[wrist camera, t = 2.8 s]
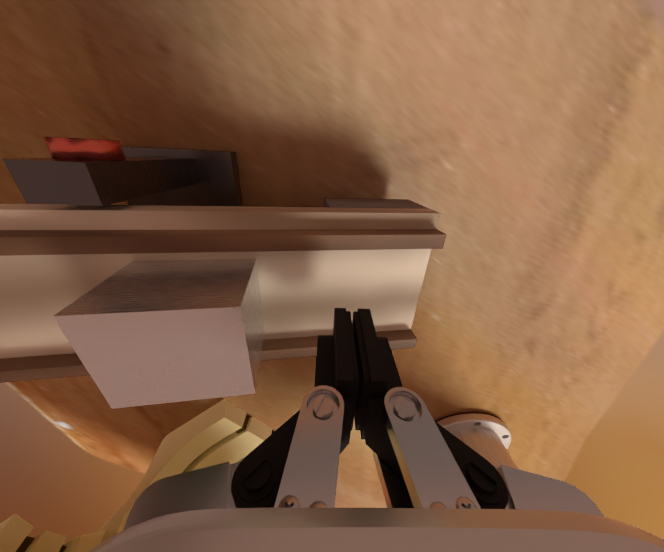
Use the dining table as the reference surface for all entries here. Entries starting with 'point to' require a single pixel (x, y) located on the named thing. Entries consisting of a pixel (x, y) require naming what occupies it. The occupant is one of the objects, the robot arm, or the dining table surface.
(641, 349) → the dining table surface
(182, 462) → the slatted curved stool
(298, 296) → the beam
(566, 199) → the dining table surface
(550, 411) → the dining table surface
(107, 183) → the pivot stand
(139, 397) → the block
